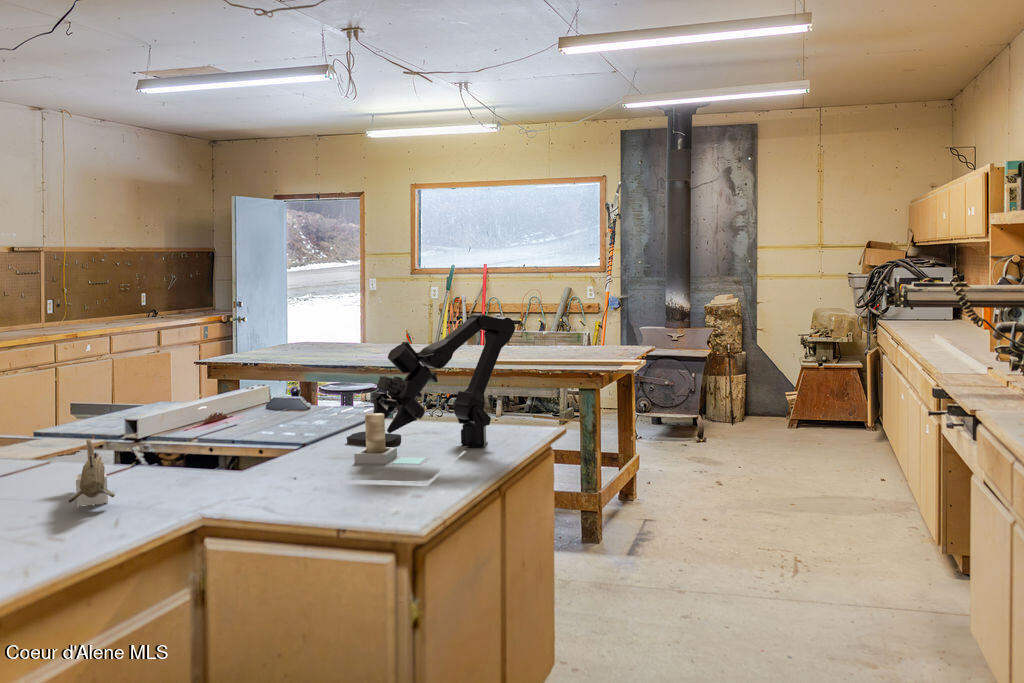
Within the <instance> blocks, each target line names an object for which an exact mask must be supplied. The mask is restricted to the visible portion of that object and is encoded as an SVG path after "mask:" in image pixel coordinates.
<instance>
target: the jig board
mask: <svg viewBox="0 0 1024 683" xmlns="http://www.w3.org/2000/svg"><path fill="white" fill-rule="evenodd" d="M385 449H386V452H385V453H366V446H364V448H362V449H360V450H357V452H356V451H355V453H354V454H353V458H354V463H353V464H354V465H391V466H393V465H395V466H422V465H423V464H425V463H426V462H427V461H428V460H430V459H431V456H398V447H395V446H392V447H385Z"/></svg>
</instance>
